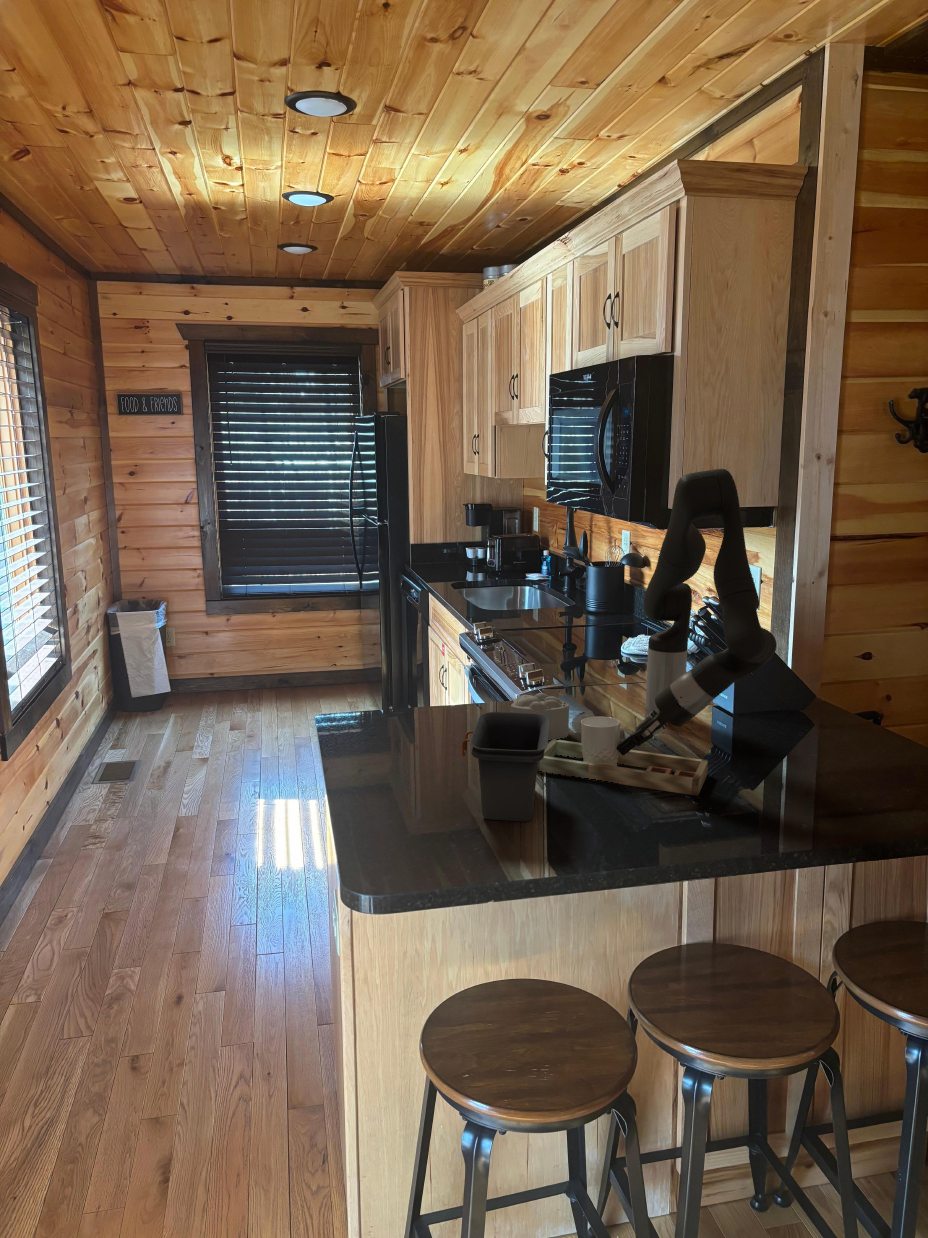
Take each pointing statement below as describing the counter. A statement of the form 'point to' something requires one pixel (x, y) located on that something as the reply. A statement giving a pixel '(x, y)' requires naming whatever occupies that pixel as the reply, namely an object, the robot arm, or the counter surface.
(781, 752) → the counter surface
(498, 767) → the storage bin
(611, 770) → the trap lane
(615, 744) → the white cup
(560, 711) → the lumpy-topped squat cylinder
